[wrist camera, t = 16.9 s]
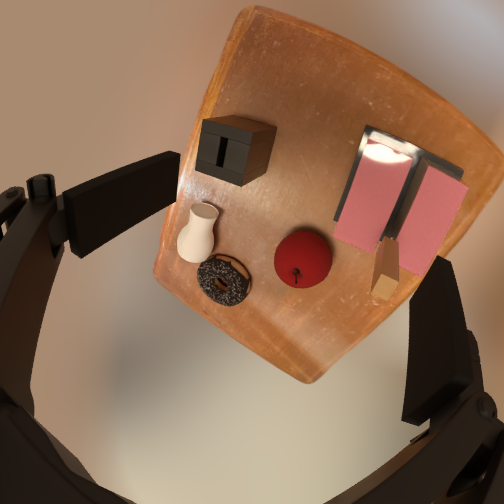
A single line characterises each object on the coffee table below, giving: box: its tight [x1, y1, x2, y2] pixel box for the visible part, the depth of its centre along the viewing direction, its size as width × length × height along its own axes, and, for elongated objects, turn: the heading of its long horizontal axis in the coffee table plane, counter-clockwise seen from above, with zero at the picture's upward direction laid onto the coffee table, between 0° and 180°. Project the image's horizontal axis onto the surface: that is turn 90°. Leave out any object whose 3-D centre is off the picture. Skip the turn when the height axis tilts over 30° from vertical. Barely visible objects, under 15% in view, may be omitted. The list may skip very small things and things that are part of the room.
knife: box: [370, 211, 399, 301], centre depth 34 cm, size 3×2×19 cm, turn 167°
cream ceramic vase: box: [177, 202, 219, 263], centre depth 55 cm, size 7×7×10 cm
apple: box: [274, 231, 332, 288], centre depth 47 cm, size 9×9×10 cm
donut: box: [197, 255, 251, 306], centre depth 60 cm, size 11×12×4 cm
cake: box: [332, 125, 469, 277], centre depth 36 cm, size 16×16×9 cm
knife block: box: [195, 115, 277, 187], centre depth 43 cm, size 8×8×9 cm
